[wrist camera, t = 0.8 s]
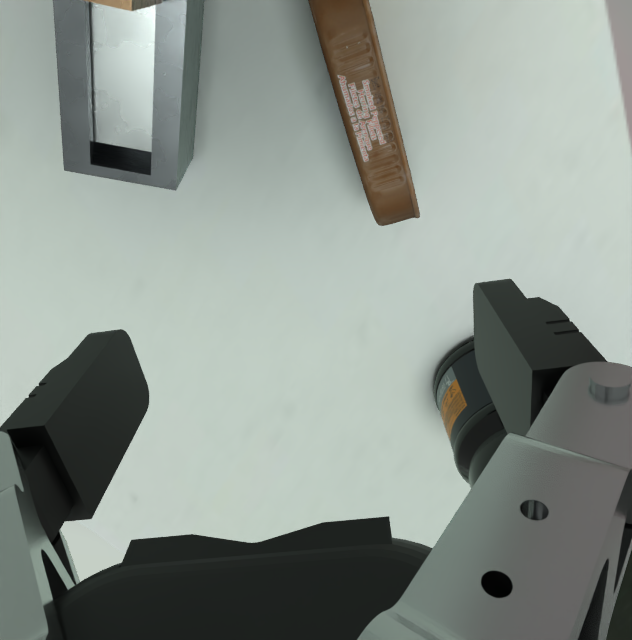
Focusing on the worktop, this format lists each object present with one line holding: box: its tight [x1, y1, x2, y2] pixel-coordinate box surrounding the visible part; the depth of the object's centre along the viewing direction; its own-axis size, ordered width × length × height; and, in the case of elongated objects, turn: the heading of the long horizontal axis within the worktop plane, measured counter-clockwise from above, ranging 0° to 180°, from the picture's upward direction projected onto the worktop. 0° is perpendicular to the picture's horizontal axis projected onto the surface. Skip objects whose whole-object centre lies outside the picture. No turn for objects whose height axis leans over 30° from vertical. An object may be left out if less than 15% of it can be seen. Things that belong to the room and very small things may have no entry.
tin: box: [308, 0, 420, 226], centre depth 29 cm, size 15×3×8 cm, turn 19°
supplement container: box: [434, 340, 508, 489], centre depth 41 cm, size 10×10×12 cm
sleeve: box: [53, 0, 204, 190], centre depth 27 cm, size 6×15×6 cm, turn 168°
